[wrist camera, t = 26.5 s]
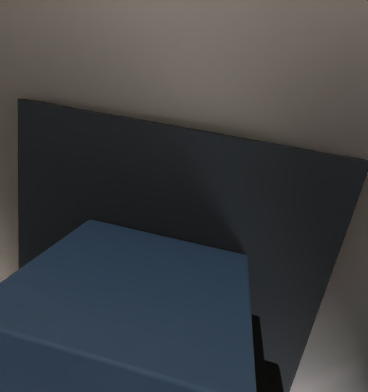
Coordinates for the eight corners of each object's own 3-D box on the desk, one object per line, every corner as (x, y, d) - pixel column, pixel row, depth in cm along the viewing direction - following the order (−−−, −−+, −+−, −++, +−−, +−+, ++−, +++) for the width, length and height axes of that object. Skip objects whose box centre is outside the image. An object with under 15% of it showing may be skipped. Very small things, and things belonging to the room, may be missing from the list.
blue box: (89, 218, 11) (-49, 315, 6) (247, 254, 10) (258, 407, 5) (81, 342, 13) (-29, 503, 7) (215, 381, 12) (197, 592, 7)
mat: (26, 99, 11) (17, 98, 10) (365, 159, 9) (372, 161, 9) (25, 462, 16) (19, 472, 16) (233, 536, 15) (233, 549, 14)
